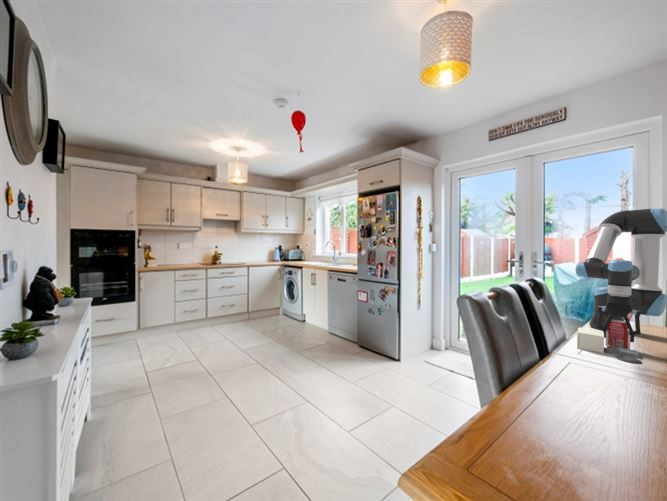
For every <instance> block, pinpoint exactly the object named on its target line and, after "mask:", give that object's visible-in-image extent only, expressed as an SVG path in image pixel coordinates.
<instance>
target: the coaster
mask: <svg viewBox="0 0 667 501" xmlns="http://www.w3.org/2000/svg"><path fill="white" fill-rule="evenodd" d="M615 358H616V359H617V360H620V361H621V362H626V363H629V364H642V360H640V359H639V358H633V357H628V356H623V355H615Z"/></svg>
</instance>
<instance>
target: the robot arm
mask: <svg viewBox="0 0 667 501" xmlns="http://www.w3.org/2000/svg"><path fill="white" fill-rule="evenodd" d="M666 232H667V210H666V209H665V208H643V209H642V208H641V209H633V210H632V209H630V210H626V209H624V210H621V211H617V212H615V213H612V214H611V215H609V216H608V217H606V218H605V219H603V221H601V223H600V224H599V226H598V227H597V233H598V234H597V235H596V238H595V239H594V240H593V244H592V246H591V248H590V250H589V252H588V255H587V257H586V259H585V261H580V262H577V263H576V265H575V274H576V275H577V277H581V278H587V279H590V278H591V279H602V280H607V286H600V287H596V288H595V289H594V295H593V296H594V297H593V314H592V316H591V318H590V320H589V325H590V326H591V327H590V326H589V327H590V328H592V327H594V328H593V329H595V328H597V329H596V330H599V329H601V330H600V331H603V332H604V339H605V340H604V346H605V347H607V346H609V345H608V326H609V324H610V322H611V320H620V321H625V322H626V324H627V326H628V345H627V349H630V350H631V343H634V342H635V336H636V335H638V336H639V335H641V333H642V332H641V321H640V317H641V315H642V316H647V317H661V316H662V315H663V314H664V312H665V309H666V305H667V294H666V293H663V289H661V288H660V287H659V271H660V270H659V269H660V247H661V238H663V237H664V236H665V234H666ZM622 233H631V234H630V236H631V237H632V238H634V258H633V260H634V261H633V262H632V261H631V260H626V259H625V260H623V259H619V260H618V259H612V260H609V261H608V263H607V260H608V258H609V256H610V253H611V251H612V250H613V246H614V245H615V242H616V240H617V238H618V237H620V236H621V234H622ZM632 282H633V284H632ZM630 314H633V315H634V324H635V330H634V329H633V327H632V325H631V322H630V320H629V318H628V315H630Z"/></svg>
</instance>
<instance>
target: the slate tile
mask: <svg viewBox="0 0 667 501" xmlns="http://www.w3.org/2000/svg"><path fill="white" fill-rule="evenodd" d="M606 353H607V354H613V355H616V356H627V357H632V358H635V359H639V352H638V350H635V349H631V348H630V349H624V348H618V347H613V346H609V345H608V346H606Z"/></svg>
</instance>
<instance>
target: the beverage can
mask: <svg viewBox="0 0 667 501" xmlns="http://www.w3.org/2000/svg"><path fill="white" fill-rule="evenodd" d="M628 334H629V329H628V326H627V324H626V322H625V320H624V321H620V320H611V322H610V324H609V326H608V346H613V347H618V348H624V349H627V345H628Z"/></svg>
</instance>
